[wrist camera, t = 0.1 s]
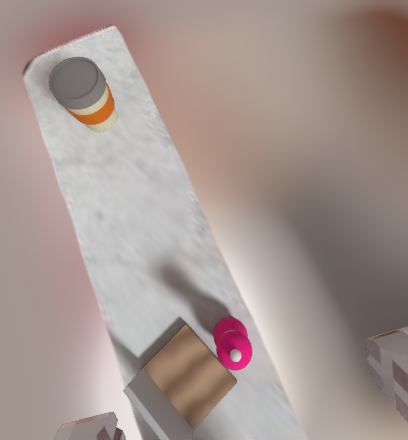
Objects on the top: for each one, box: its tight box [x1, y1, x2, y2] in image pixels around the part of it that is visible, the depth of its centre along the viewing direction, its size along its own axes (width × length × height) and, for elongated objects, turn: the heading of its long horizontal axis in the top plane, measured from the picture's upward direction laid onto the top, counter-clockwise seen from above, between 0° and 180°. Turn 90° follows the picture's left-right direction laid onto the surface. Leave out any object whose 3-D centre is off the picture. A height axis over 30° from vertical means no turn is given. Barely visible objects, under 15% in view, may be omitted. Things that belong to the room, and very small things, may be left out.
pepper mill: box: [214, 318, 252, 370], centre depth 49 cm, size 7×7×20 cm
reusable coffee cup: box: [49, 57, 118, 132], centre depth 66 cm, size 13×13×15 cm
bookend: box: [123, 323, 237, 440], centre depth 51 cm, size 16×14×12 cm
